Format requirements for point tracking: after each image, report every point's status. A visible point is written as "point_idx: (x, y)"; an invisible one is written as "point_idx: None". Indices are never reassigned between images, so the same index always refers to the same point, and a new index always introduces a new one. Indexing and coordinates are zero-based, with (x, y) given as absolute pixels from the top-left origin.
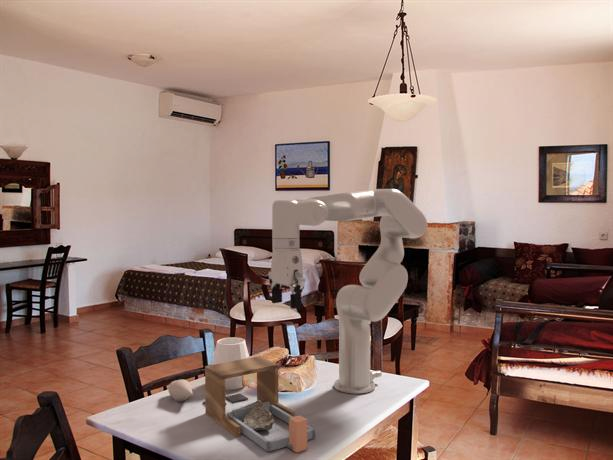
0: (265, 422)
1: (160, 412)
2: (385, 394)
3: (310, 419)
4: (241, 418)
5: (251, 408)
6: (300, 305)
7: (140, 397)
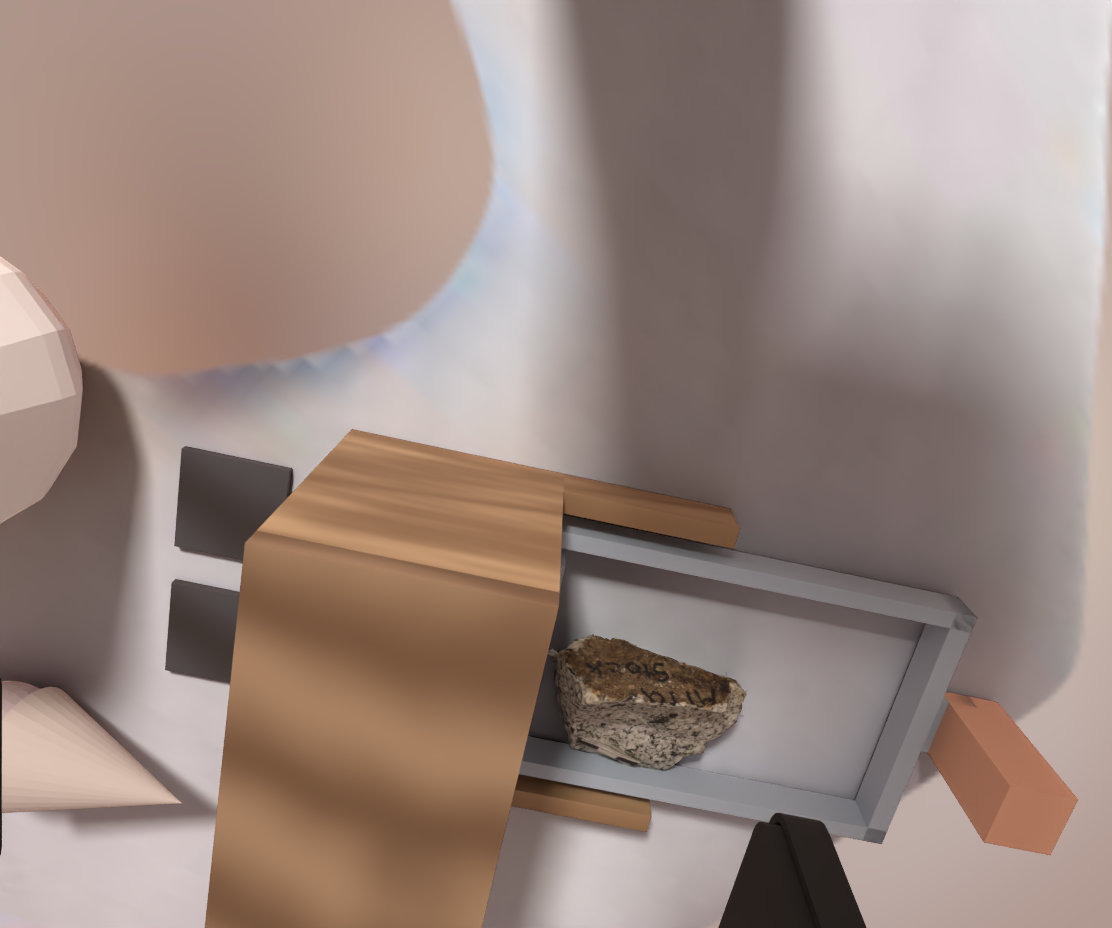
0: (713, 717)
1: (149, 851)
2: None
3: (786, 435)
4: None
5: None
6: (824, 857)
7: None
